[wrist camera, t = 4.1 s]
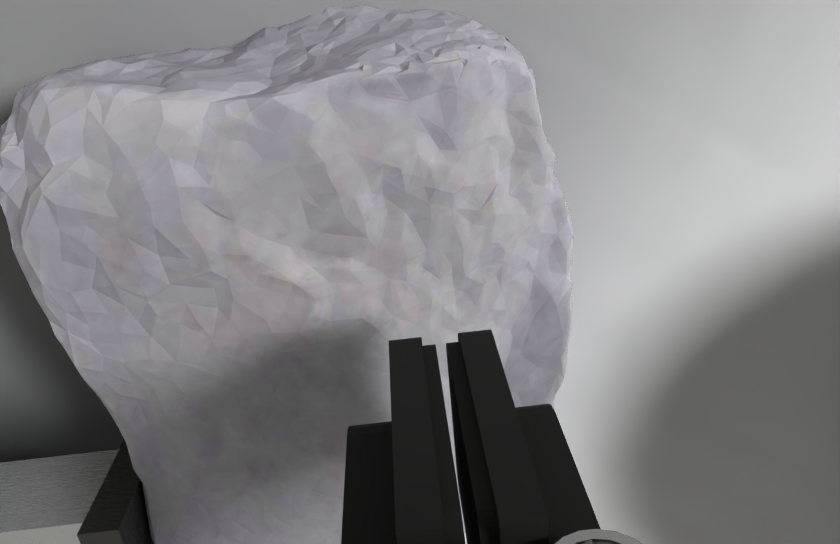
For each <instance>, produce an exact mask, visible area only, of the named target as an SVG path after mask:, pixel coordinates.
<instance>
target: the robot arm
mask: <svg viewBox="0 0 840 544" xmlns="http://www.w3.org/2000/svg"><path fill="white" fill-rule="evenodd" d="M446 353H447V364H448V376H449V388H450V399H451V411H452V422H453V434H454V446H455V457H456V469H457V478H458V486H459V492H458V486H457V480H456V473H455V467H454V460H453V454H452V447H451V441H450V434H449V428H448V421H447V415H446V408H445V402H444V395H443V389H442V382H441V376H440V370H439V363H438V357H437V350H436V344H433V345H424V346H423V345H422V337H416V338H407V339H398V340H389V366H390V393H391V421H389V422H380V423H371V424H362V425H353V426H349V427H348V431H347V444H346V462H345V480H344V499H343V517H342V535H341V544H465V538H464V529H463V520H462V513H463V519H464V525H465V532H466V538H467V544H642V543H640V542H639V541H637V540H636V539H634V538H632V537H629V536H627V535H624V534H621V533H619V532H616V531H609V530H602V529H600V527H599V524H598V521H597V519H596V516H595V514H594V511H593V509H592V506H591V503H590V501H589V498H588V496H587V493H586V491H585V488H584V485H583V483H582V480H581V478H580V475H579V472H578V470H577V467H576V465H575V462H574V460H573V457H572V454H571V452H570V449H569V447H568V444H567V442H566V439H565V436H564V434H563V431H562V429H561V426H560V423H559V421H558V418H557V416H556V413H555V411H554V409H553V407H552V405H550V404H541V405H532V406H524V407H515V405H514V401H513V398H512V395H511V391H510V388H509V385H508V382H507V378H506V375H505V372H504V369H503V365H502V362H501V359H500V356H499V352H498V349H497V346H496V342H495V339H494V336H493V333H492V330H491V329H489V330H480V331H471V332H462V333H458V342H451V343H446ZM459 493H460V499H459ZM460 500H461V506H462V513H461V506H460Z"/></svg>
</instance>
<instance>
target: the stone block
mask: <svg viewBox="0 0 840 544" xmlns="http://www.w3.org/2000/svg"><path fill="white" fill-rule="evenodd" d="M555 160H556V158H555V153H554V150H553V149H552V147H551V145H550V144H549V142H548V140H547V139H546V137H545V135H544V132H543V129H542V119H541V114H540V109H539V104H538V100H537V96H536V87H535V78H534V74H533V71H532V69H529V68H527V65H526V63H525V60H524V58H523V56H522V54H521V53H520V52H519V51H518V50H517V49H516V48H515V47H514V46H512V45H511V44H510V42H509V41H508V39H506V38H504V37H503V36H502V35H501V34H498V33H496V32H495V31H494V30H492V29H490V28H487V27H485V26H483V25H481V24H480V23H478V22H476V21H474V20H472V19H469V18H467V17H464V16H461V15H457V14H453V13H452V12H439V11H434V10H429V9H423V10H415V11H400V10H386V9H377V8H374V7H370V6H366V5H364V6H356V7H334V6H333V7H329V8H326V9H325V10H324V11H322V12H319V13H317V14H314V15H310V16H307V17H305V18H303V19H300V20H298V21H295V22H293V23H290V24H286V25H283V26H281V27H278V28H273V27H266V28H263V29H262V30H260V31H259V32H258V33H256V34H255V35H253V36H252V37H250V38H249V39H247V40H246V41H244V42H243V43H241V44H239V45H231V46H222V47H217V48H213V49H191V48H189V49H187V50H184V51H175V50H172V51H166V52H160V53H152V54H142V55H132V56H126V57H119V58H112V59H104V60H96V61H94V62H90V63H87V64H83V65H80V66H76V67H72V68H69V69H62V70H61V71H59V72H57V73H55V74H51V75H47V76H45V77H44V78H42V79H41V80H39V81H38V82H36V83H33V84H30V85H27V86H24V87H23V88H22V89H21V90H20V91H19V92H18V93H17V94H16V97H15V99H14V104H13V108H12V114H11V115H10V117H9V119H8V120H7V121H5V122H4V123H3V124H2V125H1V127H0V205H1V207H2V209H3V212H4V214H5V217H6V220H7V224H8V228H9V232H10V236H11V242H12V249H13V251H14V254H15V256H16V258H17V260H18V263H19V265H20V267H21V269H22V271H23V273H24V275H25V277H26V279H27V281H28V283H29V286H30V288H31V290H32V293H33V294H34V296H35V298H36V299H37V301H38V303H39V304H40V306H41V308H42V309H43V311H44V313H45V314H46V316H47V318H48V320H49V322H50V324H51V327H52V329H53V332H54V335H55V336H56V338H57V339H58V341H59V342H60V344H61V345H62V346H63V348H64V349H65V351H66V352H67V354H68V356H69V357H70V359H71V361H72V362H73V364H74V365H75V367H76V369H77V370H78V372H79V373H80V375H81V377H82V378H83V379H84V380H85V382H86V383H87V384H88V385H89V386H90V387H91V389H92V390H93V391H94V392H95V393H96V394H97V396H98V397H99V398H100V399H101V401H102V402H103V404H104V405H105V407H106V408H107V410H108V411H109V413H110V414H111V416H112V418H113V419H114V421H115V423H116V424H117V426H118V428H119V430H120V432H121V434H122V436H123V438H124V440H125V442H126V444H127V448H128V452H129V455H130V459H131V462H132V466H133V469H134V471H135V472H136V474H137V475H138V477H139V479H140V480H141V482H142V485H143V491H144V497H145V503H146V509H147V515H148V521H149V527H150V534H151V538H152V540H153V542H154V544H341V535H342V517H343V499H344V480H345V462H346V444H347V431H348V427H349V426H353V425H362V424H371V423H380V422H389V421H391V393H390V366H389V340H398V339H407V338H416V337H422V345H423V346H424V345H433V344H436V350H437V357H438V363H439V370H440V376H441V382H442V389H443V395H444V402H445V408H446V415H447V421H448V428H449V434H450V441H451V447H452V454H453V460H454V467H455V473H456V480H457V486H458V478H457V469H456V457H455V446H454V434H453V422H452V411H451V399H450V388H449V376H448V364H447V353H446V343H451V342H458V333H462V332H471V331H480V330H489V329H491V330H492V333H493V336H494V339H495V342H496V346H497V349H498V352H499V356H500V359H501V362H502V365H503V369H504V372H505V375H506V378H507V382H508V385H509V388H510V391H511V395H512V398H513V401H514V405H515V407H524V406H532V405H541V404H550V405H552V407H553V409H554V399H555V394H556V393H557V391H558V389H559V387H560V386H561V383H562V381H563V379H564V374H565V368H566V362H567V347H568V341H569V336H570V330H571V317H572V282H571V279H570V270H571V263H572V245H573V230H572V221H571V217H570V213H569V209H568V206H567V203H566V201H565V198H564V195H563V192H562V189H561V186H560V183H559V181H558V179H557V178H556V176H555V174H554V173H553V169H554V165H555ZM458 492H459V486H458ZM459 499H460V493H459ZM460 506H461V500H460ZM461 513H462V506H461ZM462 520H463V529H464V533H465V525H464V519H463V513H462Z"/></svg>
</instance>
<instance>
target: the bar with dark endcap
mask: <svg viewBox="0 0 840 544" xmlns="http://www.w3.org/2000/svg"><path fill="white" fill-rule="evenodd" d="M0 544H154V542H153V540H152V538H151V534H150V527H149V521H148V515H147V509H146V503H145V497H144V491H143V485H142V482H141V480H140V479H139V477H138V475H137V474H136V472H135V471H134V469H133V466H132V462H131V459H130V455H129V452H128V448H127V444H126V442H125V440H124V441H123V443H122V445H121V447H120V449H116V450H108V451H99V452H90V453H81V454H73V455H64V456H55V457H46V458H37V459H29V460H20V461H11V462H2V463H0Z"/></svg>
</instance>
